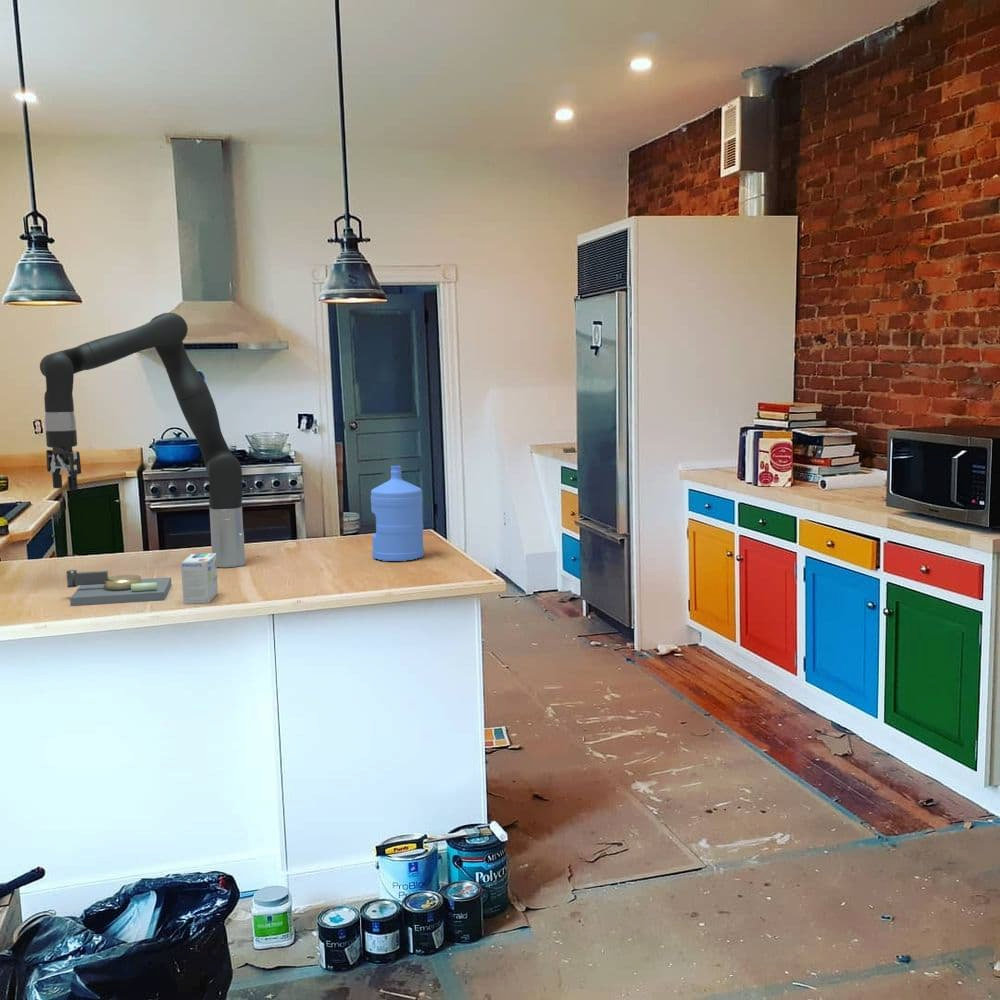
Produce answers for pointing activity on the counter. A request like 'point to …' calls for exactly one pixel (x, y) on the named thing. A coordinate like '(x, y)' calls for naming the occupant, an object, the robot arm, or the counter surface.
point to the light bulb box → (199, 578)
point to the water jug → (397, 519)
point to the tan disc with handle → (101, 579)
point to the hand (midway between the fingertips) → (65, 489)
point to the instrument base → (122, 592)
